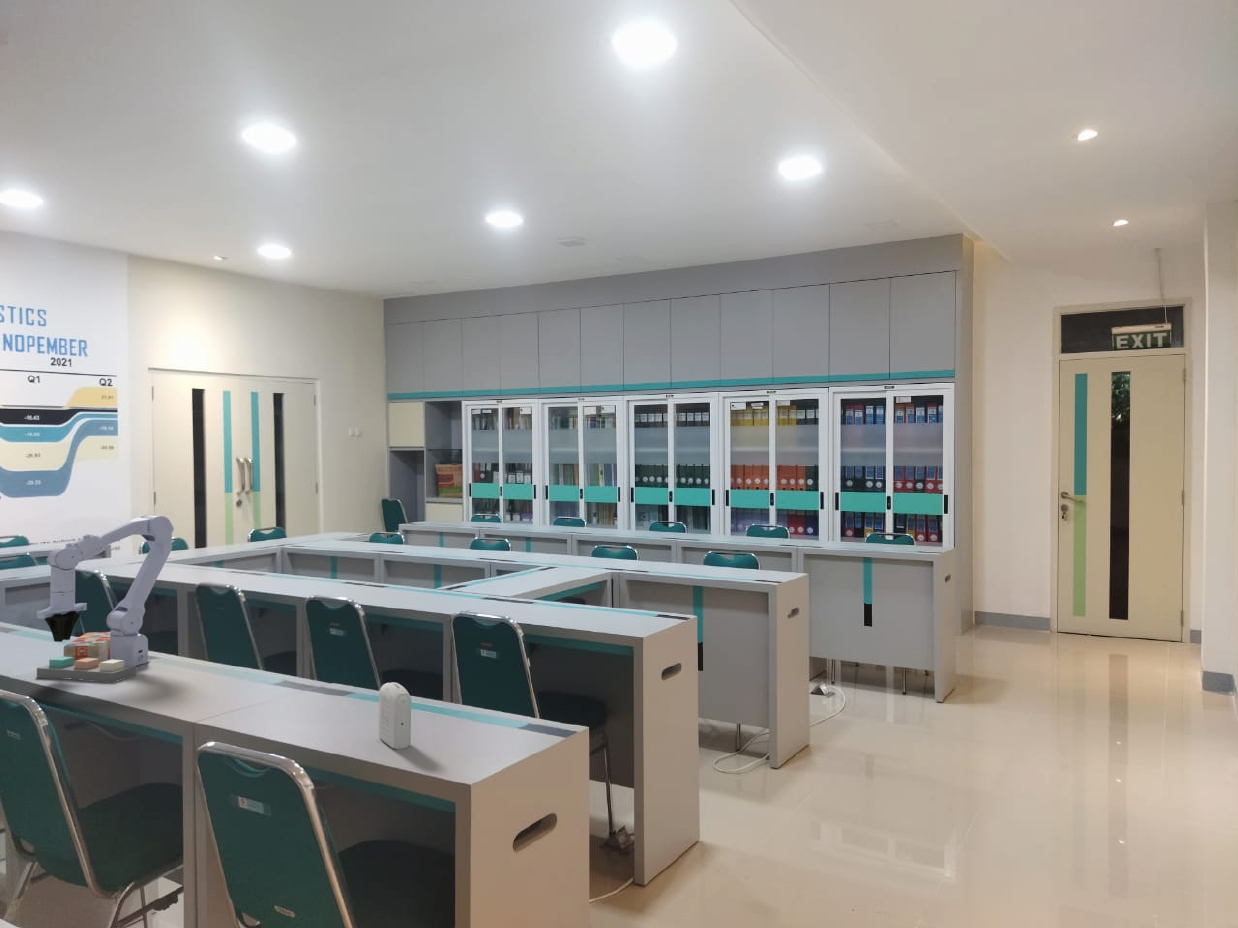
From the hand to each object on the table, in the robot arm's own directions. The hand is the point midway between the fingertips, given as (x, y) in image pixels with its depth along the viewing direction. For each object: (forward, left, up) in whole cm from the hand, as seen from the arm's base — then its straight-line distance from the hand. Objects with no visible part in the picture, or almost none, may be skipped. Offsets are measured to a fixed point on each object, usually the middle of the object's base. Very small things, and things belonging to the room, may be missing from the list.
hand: (62, 640), depth 232 cm
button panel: (-8, 0, -9) cm, 12 cm away
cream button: (-16, 0, -9) cm, 19 cm away
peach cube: (-8, 0, -9) cm, 12 cm away
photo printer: (-115, +33, -10) cm, 120 cm away
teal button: (0, 0, -9) cm, 9 cm away
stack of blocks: (+11, -16, -6) cm, 20 cm away
